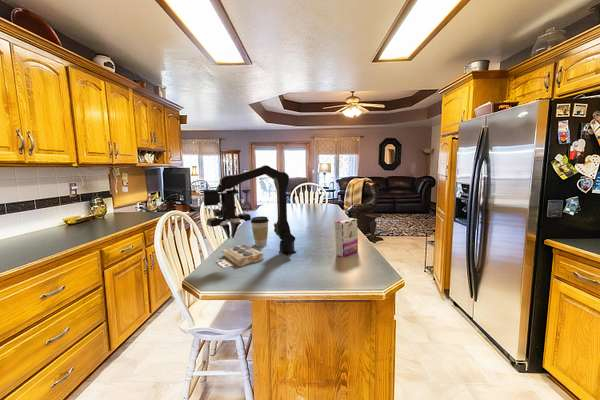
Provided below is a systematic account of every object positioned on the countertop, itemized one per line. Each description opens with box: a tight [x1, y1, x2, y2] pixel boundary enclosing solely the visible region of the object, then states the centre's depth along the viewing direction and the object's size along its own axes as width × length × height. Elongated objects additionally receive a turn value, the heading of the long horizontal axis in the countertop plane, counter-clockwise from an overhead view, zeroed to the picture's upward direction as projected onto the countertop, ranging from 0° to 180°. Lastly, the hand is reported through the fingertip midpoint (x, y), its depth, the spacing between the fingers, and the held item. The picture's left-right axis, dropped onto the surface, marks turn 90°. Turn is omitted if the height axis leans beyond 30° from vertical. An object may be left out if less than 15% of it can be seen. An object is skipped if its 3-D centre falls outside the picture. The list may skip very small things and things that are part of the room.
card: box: [217, 258, 234, 269], centre depth 122 cm, size 4×10×1 cm, turn 38°
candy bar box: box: [334, 217, 359, 258], centre depth 129 cm, size 11×5×16 cm, turn 131°
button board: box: [222, 244, 264, 267], centre depth 129 cm, size 12×18×3 cm, turn 38°
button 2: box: [244, 250, 251, 256], centre depth 124 cm, size 3×3×2 cm
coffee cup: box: [250, 215, 270, 247], centre depth 148 cm, size 10×10×15 cm
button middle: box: [239, 248, 246, 254], centre depth 128 cm, size 3×3×2 cm
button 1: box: [233, 244, 241, 251], centre depth 133 cm, size 3×3×2 cm
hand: (230, 238), depth 123 cm, fingers closed
